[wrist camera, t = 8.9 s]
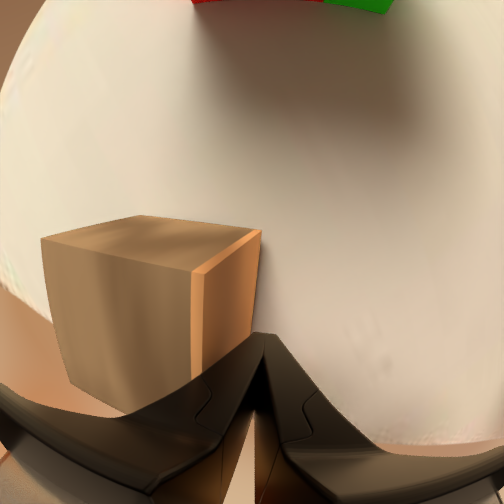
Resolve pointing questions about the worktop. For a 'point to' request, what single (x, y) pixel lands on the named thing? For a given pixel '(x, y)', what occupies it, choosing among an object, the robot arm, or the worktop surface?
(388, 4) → the puzzle toy
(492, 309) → the worktop surface
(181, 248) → the walnut cube
